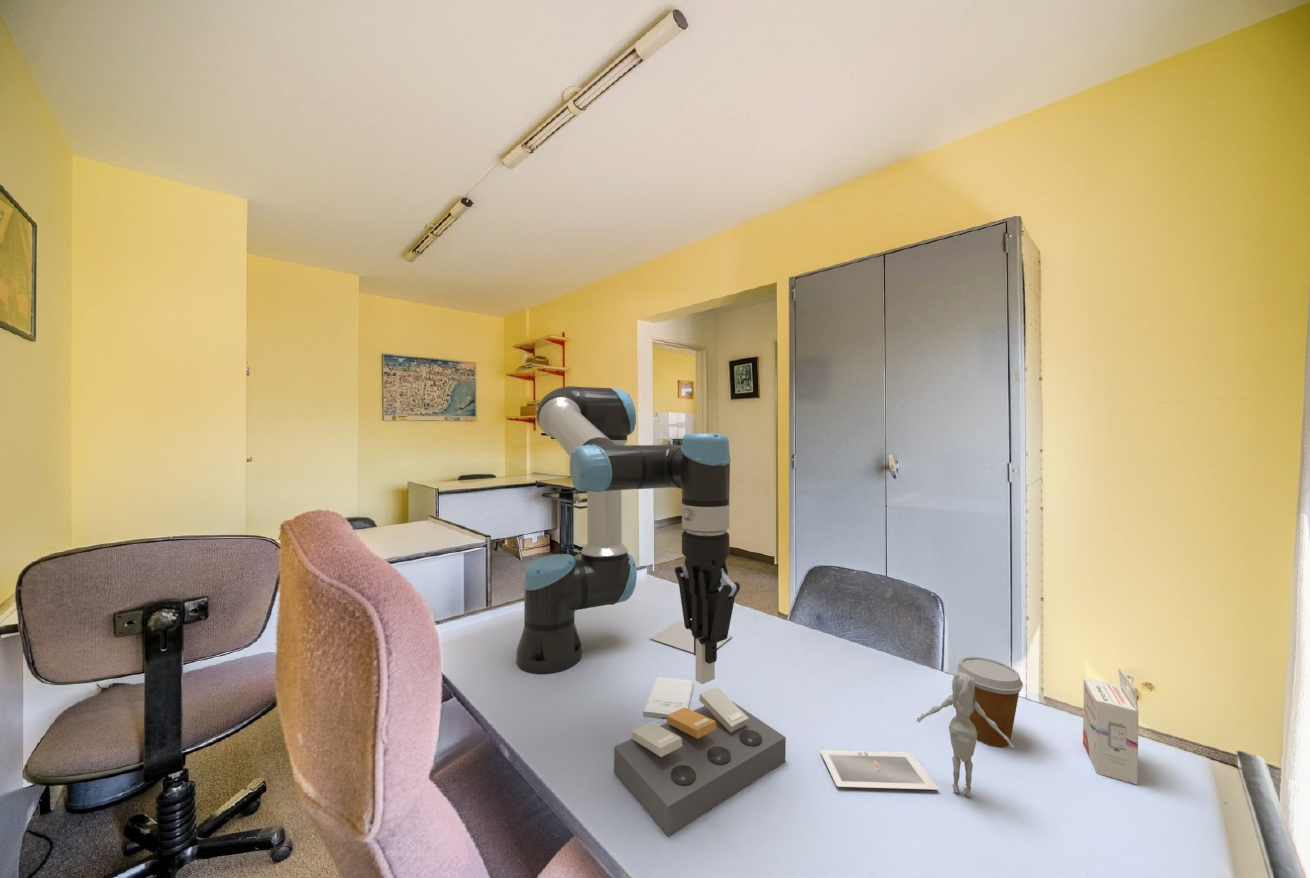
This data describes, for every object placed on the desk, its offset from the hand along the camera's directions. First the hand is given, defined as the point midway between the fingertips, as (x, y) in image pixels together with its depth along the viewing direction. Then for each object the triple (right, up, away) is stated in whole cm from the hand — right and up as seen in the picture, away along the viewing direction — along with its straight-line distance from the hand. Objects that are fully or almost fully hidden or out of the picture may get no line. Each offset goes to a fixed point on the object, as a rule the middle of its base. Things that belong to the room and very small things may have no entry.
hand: (705, 679), depth 72 cm
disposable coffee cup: (+51, -15, +9) cm, 54 cm away
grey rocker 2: (+4, -10, +7) cm, 12 cm away
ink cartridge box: (+66, -15, +2) cm, 68 cm away
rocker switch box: (0, -14, +1) cm, 14 cm away
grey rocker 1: (-8, -10, -1) cm, 12 cm away
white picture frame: (+27, -15, 0) cm, 31 cm away
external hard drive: (-5, -15, +19) cm, 25 cm away
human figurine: (+38, -15, -4) cm, 41 cm away
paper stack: (+8, -15, +48) cm, 51 cm away
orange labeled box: (-2, -10, +3) cm, 10 cm away
